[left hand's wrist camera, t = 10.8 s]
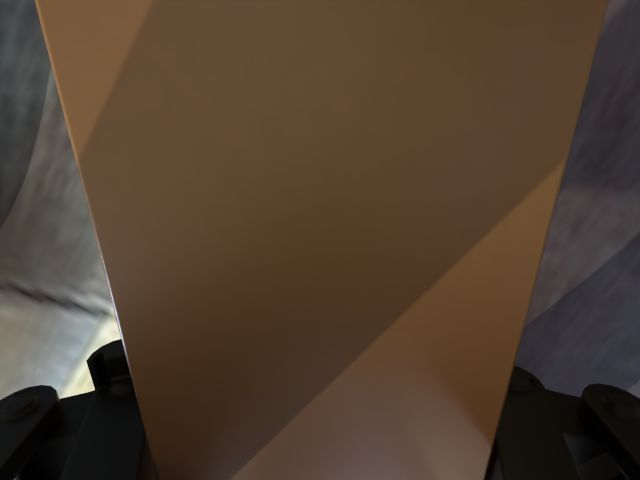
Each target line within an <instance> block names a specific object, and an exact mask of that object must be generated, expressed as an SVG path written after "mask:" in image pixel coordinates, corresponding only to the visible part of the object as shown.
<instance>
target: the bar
mask: <svg viewBox="0 0 640 480" xmlns="http://www.w3.org/2000/svg"><path fill="white" fill-rule="evenodd" d="M608 1H609V0H35V3H36V7H37V11H38V15H39V19H40V23H41V27H42V31H43V35H44V38H45V42H46V46H47V50H48V54H49V58H50V62H51V66H52V70H53V74H54V77H55V81H56V85H57V89H58V93H59V97H60V101H61V105H62V109H63V113H64V117H65V120H66V124H67V128H68V132H69V136H70V140H71V144H72V148H73V152H74V156H75V160H76V163H77V167H78V171H79V175H80V179H81V183H82V187H83V191H84V195H85V199H86V203H87V206H88V210H89V214H90V218H91V222H92V226H93V230H94V234H95V238H96V242H97V245H98V249H99V253H100V257H101V261H102V265H103V269H104V273H105V277H106V281H107V285H108V288H109V292H110V296H111V300H112V304H113V308H114V312H115V316H116V320H117V324H118V328H119V331H120V335H121V339H122V343H123V347H124V351H125V355H126V359H127V363H128V367H129V371H130V374H131V378H132V382H133V386H134V390H135V394H136V398H137V402H138V406H139V410H140V413H141V417H142V421H143V425H144V429H145V433H146V437H147V441H148V445H149V449H150V453H151V456H152V460H153V464H154V468H155V472H156V476H157V480H485V477H486V473H487V470H488V466H489V462H490V458H491V454H492V450H493V446H494V442H495V439H496V435H497V431H498V427H499V423H500V419H501V415H502V411H503V408H504V404H505V400H506V396H507V392H508V388H509V384H510V381H511V377H512V373H513V369H514V365H515V361H516V357H517V353H518V350H519V346H520V342H521V338H522V334H523V330H524V326H525V322H526V319H527V315H528V311H529V307H530V303H531V299H532V295H533V291H534V288H535V284H536V280H537V276H538V272H539V268H540V264H541V260H542V257H543V253H544V249H545V245H546V241H547V237H548V233H549V229H550V226H551V222H552V218H553V214H554V210H555V206H556V202H557V199H558V195H559V191H560V187H561V183H562V179H563V175H564V171H565V168H566V164H567V160H568V156H569V152H570V148H571V144H572V140H573V137H574V133H575V129H576V125H577V121H578V117H579V113H580V109H581V106H582V102H583V98H584V94H585V90H586V86H587V82H588V78H589V75H590V71H591V67H592V63H593V59H594V55H595V51H596V47H597V44H598V40H599V36H600V32H601V28H602V24H603V20H604V17H605V13H606V9H607V5H608Z"/></svg>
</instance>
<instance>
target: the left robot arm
mask: <svg viewBox="0 0 640 480" xmlns="http://www.w3.org/2000/svg"><path fill="white" fill-rule="evenodd" d="M87 364H88V367H89V371H90V374H91V377H92V380H93V384H94V387H95V391H91V392H88V393H84V394H79V395H75V396H71V397H66V398H62V399H59V397H58V394H57V391H56V390H55V389H54V388H52V387H51V386H44V385H39V386H33V387H28V388H25V389H22V390H19V391H17V392H14V393H13V394H11V395H9V396H7V397H5V398H3V399H2V400H0V480H157V476H156V472H155V468H154V464H153V460H152V456H151V453H150V449H149V445H148V441H147V437H146V433H145V429H144V425H143V421H142V417H141V413H140V410H139V406H138V402H137V398H136V394H135V390H134V386H133V382H132V378H131V374H130V371H129V367H128V363H127V359H126V355H125V351H124V347H123V343H122V339H120V340H116V341H113V342H110V343H108V344H106V345H104V346H102V347H100V348H99V349H98V350H96V351H95V352H94V353H92V355H91V356H90V357H89V358H88V360H87ZM485 480H640V398H638V397H636V396H634V395H632V394H631V393H629V392H627V391H625V390H622V389H619V388H617V387H614V386H610V385H604V384H591V385H588V386H587V387H586V388H585V389H584V390H583V393H582V396H581V398H580V397H576V396H571V395H567V394H562V393H558V392H554V391H550V390H547V389H545V388H544V386H543V385H542V383H541V382H540V380H538V379H537V378H536V377H535V376H534V375H532V374H531V373H529V372H527V371H526V370H524V369H522V368H520V367H516V366H514V369H513V373H512V377H511V381H510V384H509V388H508V392H507V396H506V400H505V404H504V408H503V411H502V415H501V419H500V423H499V427H498V431H497V435H496V439H495V442H494V446H493V450H492V454H491V458H490V462H489V466H488V470H487V473H486V477H485Z"/></svg>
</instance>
